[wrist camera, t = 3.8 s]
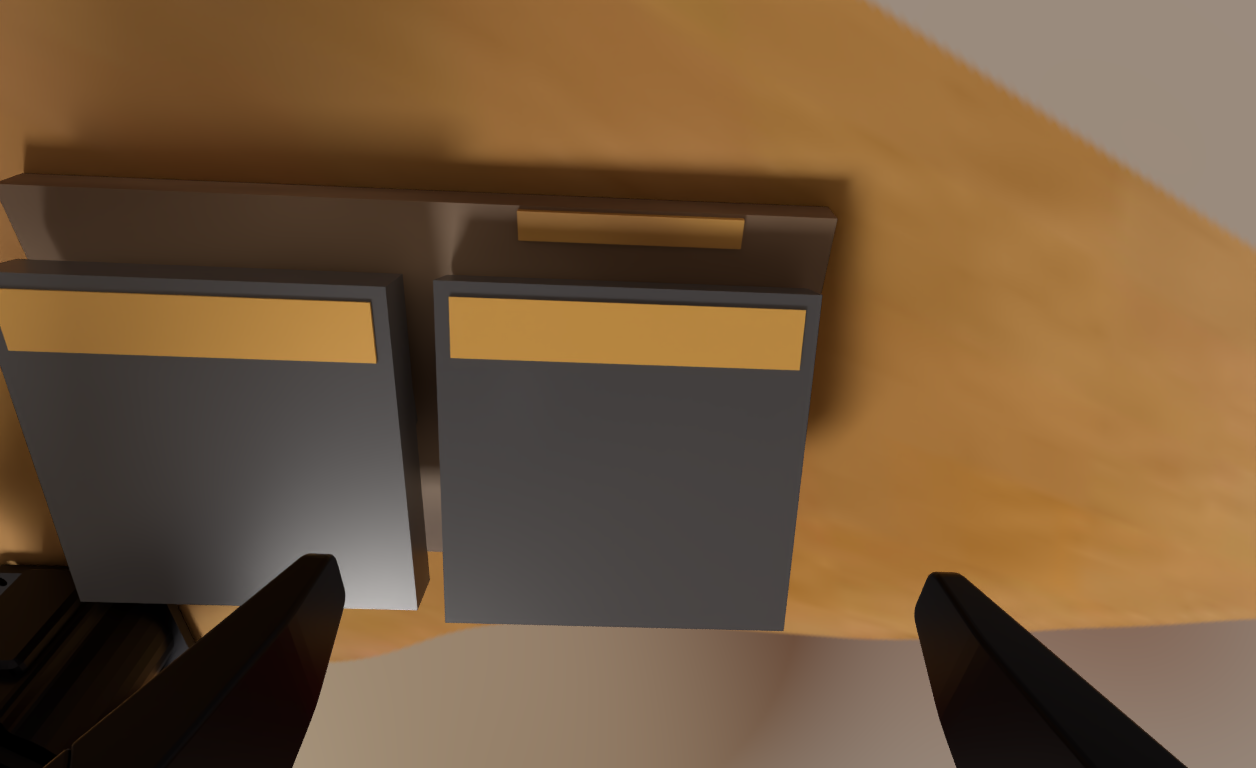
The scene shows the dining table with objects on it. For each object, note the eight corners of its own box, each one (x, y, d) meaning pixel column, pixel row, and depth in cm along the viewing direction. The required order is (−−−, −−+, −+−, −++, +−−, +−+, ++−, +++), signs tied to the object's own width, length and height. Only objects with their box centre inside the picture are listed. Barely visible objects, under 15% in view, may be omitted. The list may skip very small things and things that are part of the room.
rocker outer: (772, 603, 21) (784, 632, 20) (456, 595, 21) (444, 623, 19) (807, 288, 19) (823, 295, 17) (446, 274, 18) (432, 280, 17)
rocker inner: (429, 580, 21) (416, 611, 20) (113, 571, 21) (78, 603, 20) (402, 273, 18) (384, 287, 16) (16, 259, 17) (-35, 271, 16)
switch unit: (758, 540, 26) (769, 586, 24) (176, 524, 25) (140, 569, 23) (827, 207, 19) (850, 234, 17) (22, 173, 18) (-48, 197, 16)
